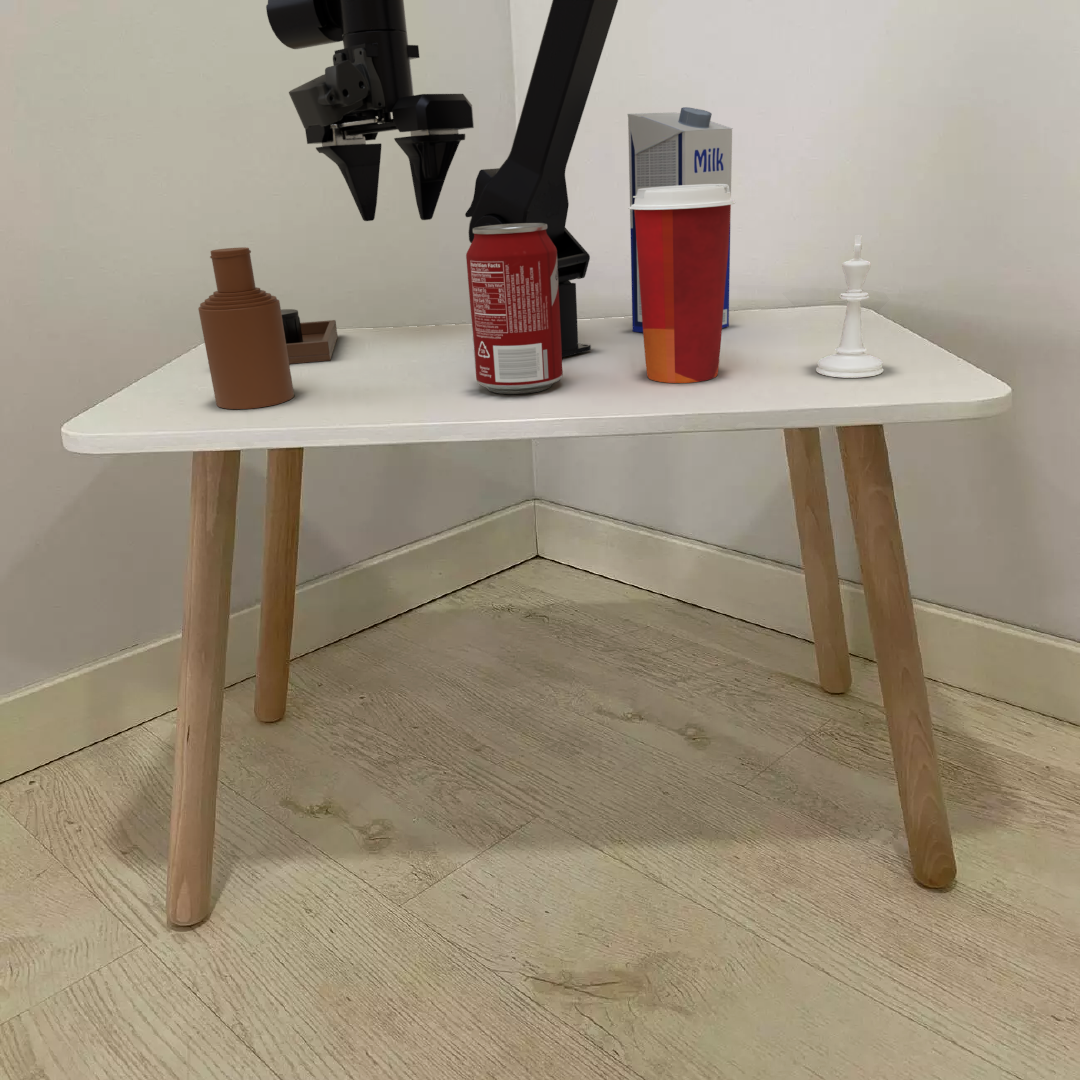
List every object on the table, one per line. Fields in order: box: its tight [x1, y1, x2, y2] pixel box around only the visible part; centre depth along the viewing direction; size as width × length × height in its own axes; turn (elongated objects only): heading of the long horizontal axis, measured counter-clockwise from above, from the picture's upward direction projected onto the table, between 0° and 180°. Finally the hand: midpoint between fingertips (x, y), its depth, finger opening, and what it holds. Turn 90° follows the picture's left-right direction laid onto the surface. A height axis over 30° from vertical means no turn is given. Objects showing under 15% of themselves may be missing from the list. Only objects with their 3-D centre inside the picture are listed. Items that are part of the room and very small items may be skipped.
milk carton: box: [627, 106, 734, 334], centre depth 90 cm, size 7×7×20 cm
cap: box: [281, 308, 303, 344], centre depth 94 cm, size 4×4×3 cm
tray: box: [286, 319, 339, 365], centre depth 94 cm, size 13×10×2 cm
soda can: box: [465, 223, 564, 395], centre depth 72 cm, size 7×7×12 cm
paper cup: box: [628, 184, 736, 384], centre depth 72 cm, size 8×8×14 cm
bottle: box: [197, 246, 295, 410], centre depth 73 cm, size 6×6×12 cm
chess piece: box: [815, 234, 884, 379], centre depth 71 cm, size 5×5×10 cm
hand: (396, 220), depth 90 cm, fingers open, 9 cm apart
